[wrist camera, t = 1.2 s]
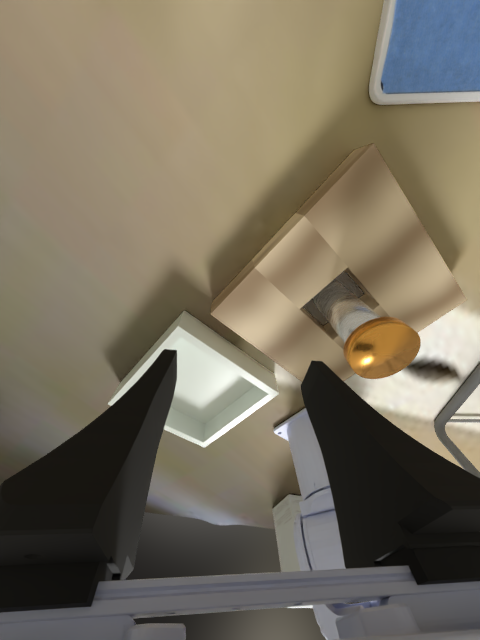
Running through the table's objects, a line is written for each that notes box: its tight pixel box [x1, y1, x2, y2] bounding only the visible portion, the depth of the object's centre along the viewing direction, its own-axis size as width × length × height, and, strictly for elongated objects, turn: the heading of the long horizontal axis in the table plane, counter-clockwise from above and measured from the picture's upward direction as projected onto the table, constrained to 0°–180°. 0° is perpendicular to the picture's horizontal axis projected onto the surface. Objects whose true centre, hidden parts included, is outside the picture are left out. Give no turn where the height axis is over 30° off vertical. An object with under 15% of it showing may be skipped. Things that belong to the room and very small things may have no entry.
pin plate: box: [211, 143, 467, 382], centre depth 20 cm, size 16×16×2 cm
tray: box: [108, 310, 279, 448], centre depth 25 cm, size 13×13×3 cm
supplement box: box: [273, 494, 313, 608], centre depth 39 cm, size 7×7×13 cm
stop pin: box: [313, 281, 420, 379], centre depth 18 cm, size 4×4×9 cm
